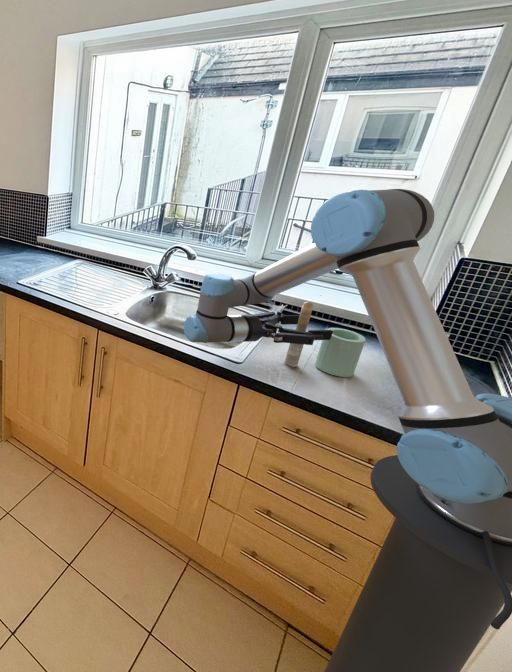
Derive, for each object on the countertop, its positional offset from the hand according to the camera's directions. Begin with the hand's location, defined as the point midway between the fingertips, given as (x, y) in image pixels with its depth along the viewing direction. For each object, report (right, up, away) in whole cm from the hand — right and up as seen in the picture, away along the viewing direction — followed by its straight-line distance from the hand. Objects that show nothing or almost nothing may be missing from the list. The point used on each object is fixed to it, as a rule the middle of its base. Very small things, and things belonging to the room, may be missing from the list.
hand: (316, 326), depth 120 cm
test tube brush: (+4, -3, +27) cm, 27 cm away
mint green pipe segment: (+6, -12, +2) cm, 14 cm away
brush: (-5, -11, +4) cm, 13 cm away
